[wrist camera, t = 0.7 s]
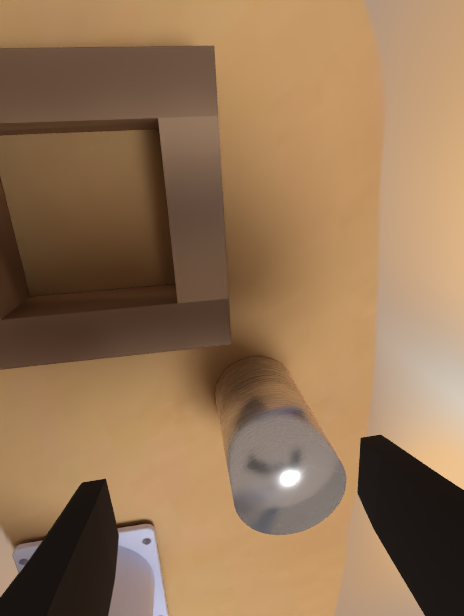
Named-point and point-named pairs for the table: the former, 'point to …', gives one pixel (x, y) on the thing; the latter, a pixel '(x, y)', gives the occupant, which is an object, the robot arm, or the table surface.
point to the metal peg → (275, 450)
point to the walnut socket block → (179, 192)
